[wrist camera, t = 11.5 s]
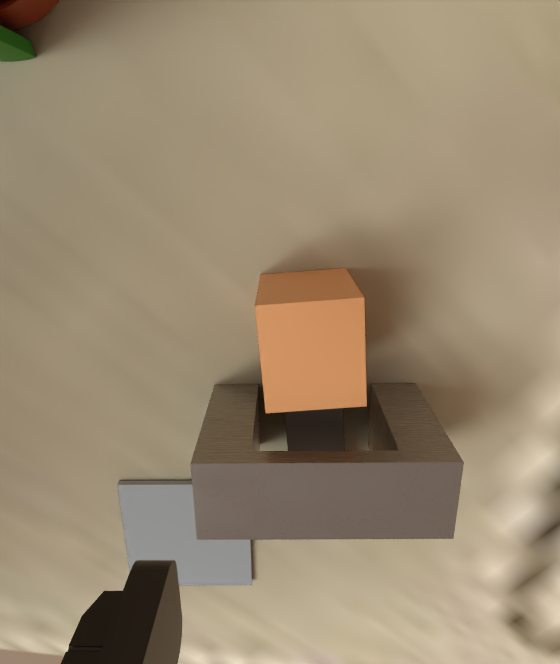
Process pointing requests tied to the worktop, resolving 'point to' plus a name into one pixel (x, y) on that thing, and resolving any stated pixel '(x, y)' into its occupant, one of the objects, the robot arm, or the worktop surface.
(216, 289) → the worktop surface
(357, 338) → the plug
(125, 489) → the mat
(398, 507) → the block
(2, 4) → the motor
